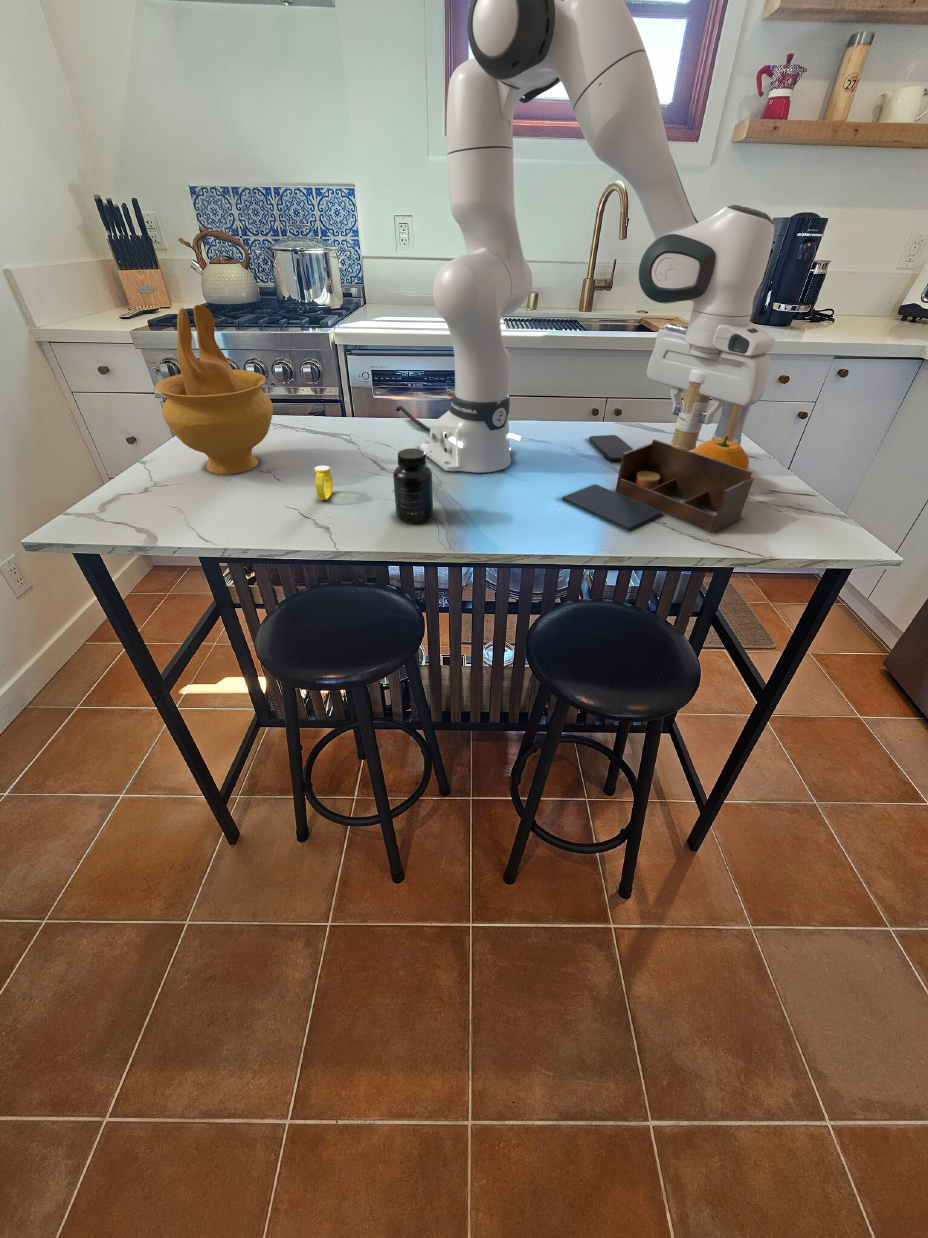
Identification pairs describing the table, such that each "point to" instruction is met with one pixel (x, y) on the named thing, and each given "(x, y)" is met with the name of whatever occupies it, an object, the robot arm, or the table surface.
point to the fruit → (724, 452)
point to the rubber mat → (612, 507)
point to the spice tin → (647, 479)
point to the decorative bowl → (214, 400)
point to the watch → (321, 473)
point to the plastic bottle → (731, 422)
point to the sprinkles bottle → (690, 414)
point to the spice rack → (686, 484)
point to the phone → (610, 446)
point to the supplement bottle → (413, 487)
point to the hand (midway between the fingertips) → (690, 418)
